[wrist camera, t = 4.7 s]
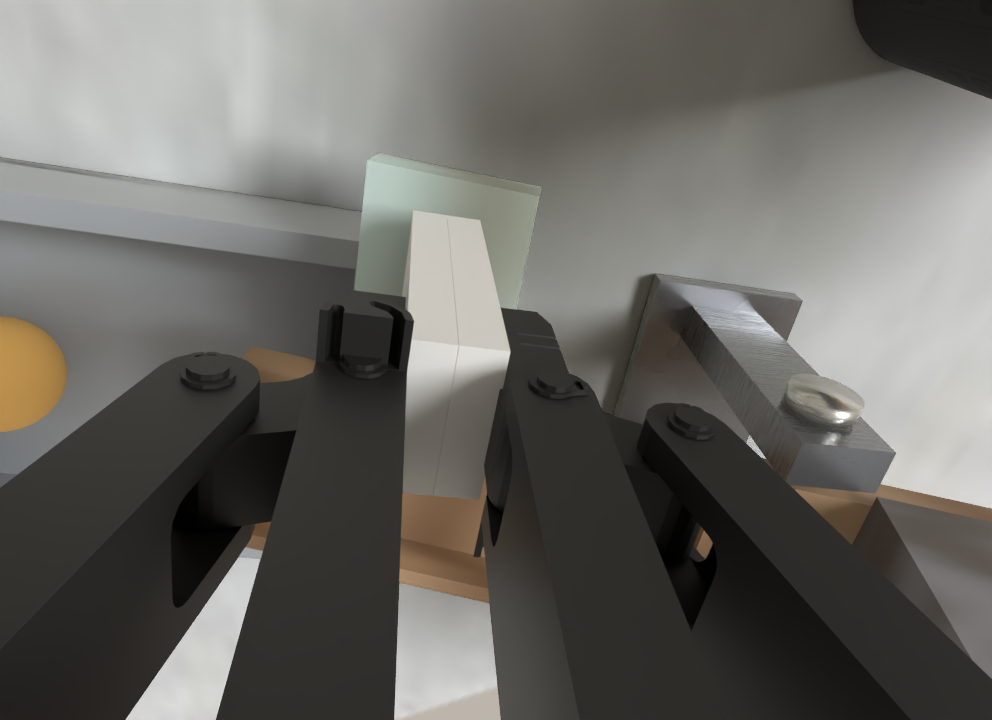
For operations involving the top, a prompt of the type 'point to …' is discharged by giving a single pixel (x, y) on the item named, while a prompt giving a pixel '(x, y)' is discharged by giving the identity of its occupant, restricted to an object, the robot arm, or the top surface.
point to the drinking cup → (933, 38)
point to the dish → (156, 280)
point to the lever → (855, 515)
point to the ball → (28, 373)
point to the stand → (751, 381)
